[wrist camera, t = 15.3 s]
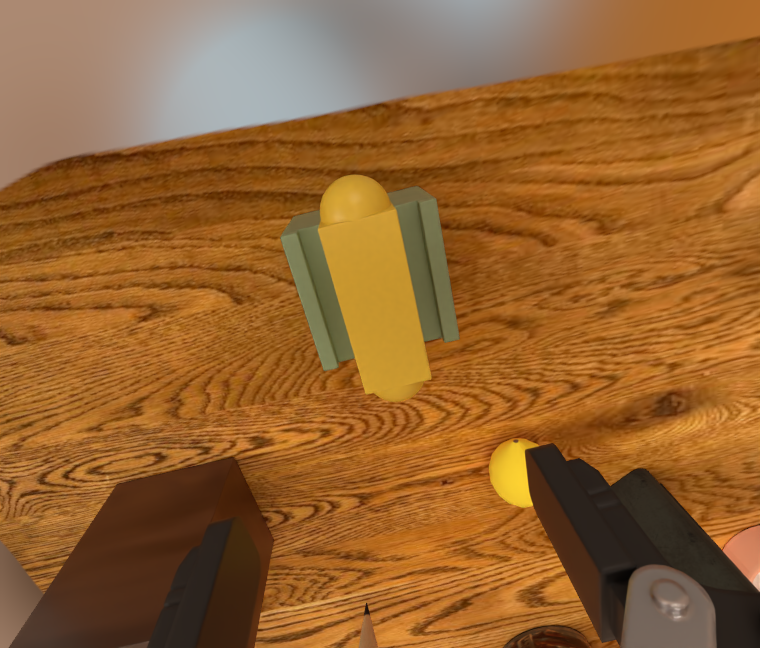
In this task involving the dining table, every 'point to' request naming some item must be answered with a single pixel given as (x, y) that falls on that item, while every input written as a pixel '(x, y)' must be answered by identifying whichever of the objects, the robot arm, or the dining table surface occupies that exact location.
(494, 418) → the dining table surface
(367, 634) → the ice cream cone
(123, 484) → the block
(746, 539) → the salt shaker
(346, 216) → the yellow ball-topped peg
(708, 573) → the candle
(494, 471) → the lemon
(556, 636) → the jar
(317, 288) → the block
